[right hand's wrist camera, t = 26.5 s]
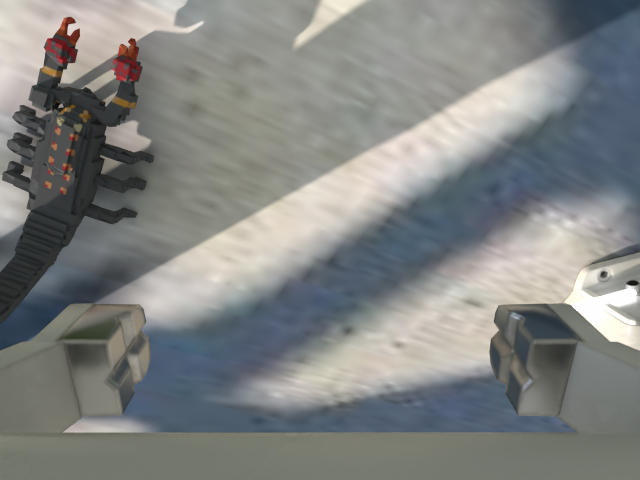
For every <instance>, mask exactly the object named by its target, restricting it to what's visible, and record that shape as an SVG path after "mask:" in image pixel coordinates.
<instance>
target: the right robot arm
mask: <svg viewBox="0 0 640 480" xmlns="http://www.w3.org/2000/svg"><path fill="white" fill-rule="evenodd" d="M602 272H604V273H603V274H602V275H600V274H601V273H602ZM145 323H146V319H145V314H144V309H143V308H142V307H141V306H140V305H139V304H95V303H85V304H70V305H69V306H68V307H67V308H66V309H65V310H63V311H62V312H61V313H60V314H59V315H58V316H57V317H56V318H55V319H54V320H53V321H52V322H50V323H49V324H48V325H47V326H46V327H45V328H44V329H43V330H42V331H41V332H40V333H39V334H37V335H36V336H35V337H34V338H33V339H32V340H31V341H30V342H20V343H18V344H15V345H13V346H11V347H8V348H6V349H3V350H1V351H0V480H640V252H638V253H635V254H631V255H627V256H623V257H619V258H615V259H611V260H607V261H603V262H599V263H595V264H591V265H588V266H586V267H584V268H583V269H582V270H581V272H580V273H579V275H578V277H577V280H576V283H575V286H574V289H573V291H572V293H571V294H570V296H569V297H568V298H567V299H566V300H565V302H564V303H557V304H511V305H499V306H498V308H497V310H496V312H495V318H494V323H495V324H496V326H497V327H498V329H499V331H498V332H497V333H496V334H495V335H494V336H493V337H492V338H491V343H490V362H491V366H492V369H493V372H494V374H495V376H496V378H497V380H499V381H501V382H502V383H504V384H505V385H507V387H506V393H505V394H506V395H507V397H508V399H509V400H510V402H511V404H512V405H513V407H514V409H515V411H516V412H517V414H518V415H527V416H559V419H561V420H562V421H564V422H565V423H566V424H568V425H569V426H570V427H572V428H573V429H574V430H576V431H577V432H578V433H62V432H63V431H65V430H66V429H67V428H69V427H70V426H71V425H73V424H74V423H75V422H77V421H78V420H79V419H81V416H112V415H122V414H123V412H124V411H125V409H126V407H127V406H128V404H129V402H130V400H131V399H132V397H133V395H134V394H135V393H134V387H133V385H135V384H136V383H138V382H139V381H141V380H143V378H144V376H145V374H146V372H147V370H148V365H149V361H150V343H149V338H148V337H147V336H146V335H145V334H144V333H143V332H142V331H141V329H142V328H143V326H144V324H145Z"/></svg>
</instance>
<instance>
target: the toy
mask: <svg viewBox="0 0 640 480" xmlns="http://www.w3.org/2000/svg"><path fill="white" fill-rule="evenodd" d="M73 23H76V22H75V20H74V19H73V18H72V17H67V18H64V20H63V22H62V24H61V27H60V29H59V30H58V31H57V32H56V33H55V35H54V37H53V38H48V39H47V41H46V43H45V46H44V49H45V50H46V53H45V60H44V67H43V68H40V72H39V77H38V82H37V85H34V86H32V88H31V92H30V96H29V100H30V101H32V102H33V104H32V105H33V106H35V107H37V108H39V109H41V110H44V111H46V112H47V111H49V110H52V114H51V119H50V120H49V121H45V120H43V119H41V118H38V117H36V116H35V113H36V111H35V110H34V109H31V108H29V107H27V106H24V105H20V111H18V112H15V113H14V115H13V117H12V118H13V119H14V120H15V121H16V122H18V123H19V124H20V125H22V126H25V127H27V128H29V129H31V130H33V131H36V132H38V133H40V134H42V135H43V139H42V140H39V141H37V145H36V147H34V146H32V145H30V144H31V143H32V138H31V137H28V136H26V135H23V134H21V133H18V132H17V133H14V136H13V139H11V140H8V143H7V147H8V148H9V149H10V150H11V151H13V152H14V153H16V154H18V155H21V156H23V157H25V158H27V159H29V160H32V161H34V163H33V169H32V175H31V180H30V178H28V177H25V176H23V175H21V174H22V173H23V171H24V170H23V168H24V165H21V164H19V163H16V162H14V161H11V162H9V164H8V169H7V171H5V172H3V174H2V175H3V177H2V180H3V181H6V182H8V183H11V184H13V185H14V186H16V187H18V188H20V189H22V190H25V191H27V192H29V201H28V204H27V209H29V210H31V212H30V213H29V215H28V217H27V219H26V222H25V224H24V227H23V233H22V235H21V236H20V238H19V241H18V243H17V246H16V248H15V251H16V254H15V256H14V257H13V258H12V260H11V261H10V262H9V263H8V264H7V265H6V266H5V267H4V268H3V270H2V271H1V272H0V324H1V323H2V322H3V321H5V320H6V319H7V318H8V316H9V315H10V314H11V313H12V312H13V311H14V309H15V308H16V307H17V306H18V305H19V304H20V303H21V302H22V300H23V299H24V298H25V297H26V295H27V294H28V293H29V292H30V290H31V289H32V288H33V287H34V285H35V284H36V283H37V282H38V281H39V279H40V278H41V277H42V276H43V275H44V273H45V272H46V271H47V269H48V268H49V267H50V266H51V265H53V264H54V261H56V258H57V255H59V252H60V251H61V250H62V248H63V247H65V246H67V245H68V244H69V243H70V241H71V240H72V238H73V236H74V233H75V231H76V228H77V227H78V226H79V224H80V223H81V221H82V219H83V217H84V216H88V217H91V218H94V219H97V220H100V221H103V222H107V223H110V224H114V223H117V222H118V221H120V220H121V219H122V218H124V217H131V218H135V217H136V214H137V213H136V212H133V211H131V210H128V209H126V208H122V209H120V210H118V211H115V212H114V211H110V210H107V209H104V208H101V207H98V206H96V205H94V204H91V203H92V202H93V199H94V196H95V193H96V189H97V187H96V186H97V184H98V185H100V186H103V187H106V188H109V189H112V190H115V191H118V192H121V193H124V192H125V191H127V190H128V189H129V188H137V189H140V190H144V188H145V185H146V181H143V180H141V179H138V178H134V179H132V178H129V179H128V180H126V181H122V180H119V179H116V178H113V177H110V176H108V175H103V174H101V171H102V167H103V163H104V159H103V158H101V157H100V155H103V156H105V157H108V158H111V159H113V160H116V161H119V162H123V163H127V164H134V163H136V162H138V161H140V160H144V161H147V162H150V163H151V162H153V158H154V156H151V155H149V154H147V153H144V152H142V151H138V152H134V153H133V152H131V151H128V150H125V149H122V148H119V147H116V146H113V145H109V144H106V143H105V140H106V136H105V135H104V134H105V130H106V127H107V126H109V127H116V126H117V125H120V120H125V118H126V115H129V112H130V108H135V106H136V102H137V98H138V96H137V95H135V88H134V83H135V81H137V82H138V81H139V78H140V74H141V71H142V68H143V67H142V66H140V62H138V61H136V59H137V55H138V50H139V48H138V47H136V41H135V39H132V38H131V39H130V40H129V41H128V42H129V43H130V44H131V46H130V48H129V50H128V49H127V46H125V45H123V44H121V45H120V47H119V53H118V57H117V58H115V59H114V61H113V64H112V68H111V69H112V70H114V71H115V73H114V75H116V76H117V78H116V80H120V81H121V82H120V86H119V89H118V92H117V94H116V95H115V97H114V98H113V99H112V101H111V102H110V103H109V104H108V105H107V107H105V102H103V101H101V100H99V99H97V97H96V96H95V95H94V94H93V93H92V91H91V90H90V89H88V88H86V87H85V88H84V89H75V88H71V87H66V88H60V87H57V86H58V83H59V84H60V81H61V77H62V73H63V69H67V65H68V63H75V61H76V56H77V52H78V49H75V45H76V42H77V40H78V39H79V37H80V28H79V29H77V30H75V31H74V32H73V33H72V35H71V36H68V35H67V29H68V24H73ZM60 104H63V106H64V107H63V108H58V106H59V105H60ZM98 120H99V121H101V122H99V121H98Z"/></svg>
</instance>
